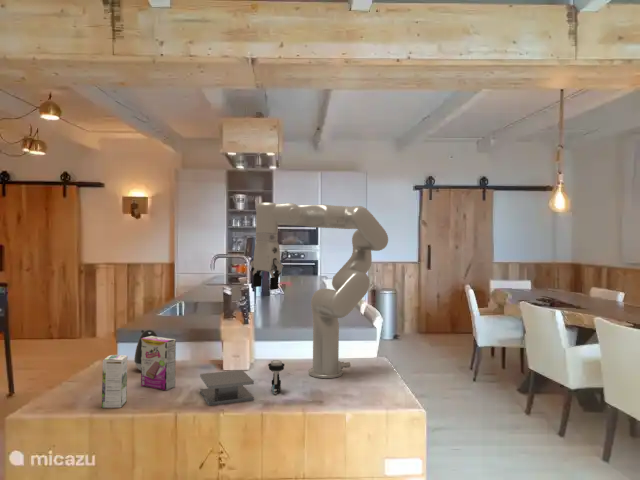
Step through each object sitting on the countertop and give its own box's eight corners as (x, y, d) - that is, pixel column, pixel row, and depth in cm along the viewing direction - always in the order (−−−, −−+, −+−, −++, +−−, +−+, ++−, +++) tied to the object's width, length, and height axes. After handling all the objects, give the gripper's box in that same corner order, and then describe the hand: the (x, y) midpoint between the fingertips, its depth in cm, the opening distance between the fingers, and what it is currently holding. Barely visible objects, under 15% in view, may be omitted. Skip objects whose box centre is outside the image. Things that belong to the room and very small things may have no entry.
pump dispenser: (154, 365, 203) (154, 326, 203) (167, 370, 196) (168, 330, 196) (129, 369, 196) (129, 329, 196) (142, 375, 189) (142, 333, 188)
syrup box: (107, 401, 160) (107, 354, 159) (127, 401, 160) (127, 354, 160) (101, 408, 154) (101, 359, 154) (122, 408, 154) (122, 359, 154)
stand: (242, 387, 176) (242, 369, 175) (253, 400, 163) (253, 381, 163) (200, 392, 170) (200, 373, 170) (208, 405, 157) (208, 385, 157)
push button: (282, 395, 167) (283, 364, 167) (266, 395, 168) (266, 364, 167) (285, 389, 174) (285, 359, 174) (269, 389, 174) (269, 359, 174)
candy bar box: (139, 386, 175) (140, 338, 175) (150, 382, 180) (150, 335, 180) (165, 391, 171) (166, 341, 170) (176, 387, 175) (176, 338, 175)
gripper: (290, 239, 176) (289, 289, 176) (260, 238, 189) (259, 285, 189) (273, 238, 171) (271, 290, 171) (243, 237, 184) (242, 286, 184)
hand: (265, 287), depth 180 cm, fingers open, 9 cm apart
